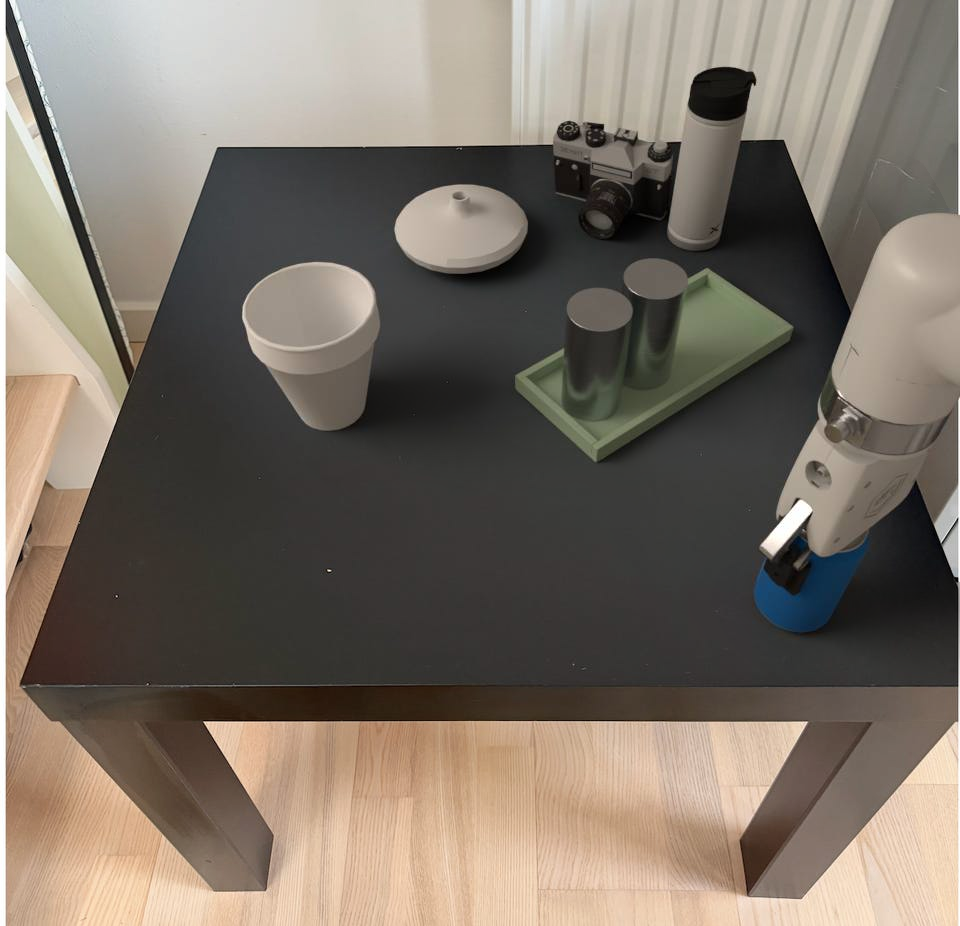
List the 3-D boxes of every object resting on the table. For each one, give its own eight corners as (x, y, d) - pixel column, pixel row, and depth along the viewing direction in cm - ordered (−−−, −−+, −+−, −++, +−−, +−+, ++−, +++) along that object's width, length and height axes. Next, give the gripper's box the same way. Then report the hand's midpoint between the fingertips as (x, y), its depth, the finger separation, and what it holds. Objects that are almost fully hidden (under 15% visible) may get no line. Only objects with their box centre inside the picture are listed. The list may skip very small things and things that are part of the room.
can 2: (682, 372, 94) (701, 281, 85) (640, 398, 92) (654, 307, 82) (642, 341, 97) (656, 250, 88) (600, 366, 95) (610, 274, 86)
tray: (789, 340, 97) (794, 326, 96) (596, 463, 87) (597, 449, 86) (704, 281, 104) (707, 267, 102) (514, 389, 94) (514, 375, 92)
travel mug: (726, 252, 107) (762, 90, 92) (669, 252, 107) (696, 91, 92) (718, 220, 111) (751, 60, 96) (664, 220, 111) (688, 61, 96)
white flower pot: (300, 470, 88) (272, 369, 77) (253, 392, 94) (221, 289, 84) (413, 420, 91) (400, 317, 81) (359, 348, 98) (341, 245, 88)
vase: (373, 236, 111) (366, 186, 105) (480, 193, 116) (479, 142, 111) (441, 306, 102) (437, 255, 97) (554, 255, 107) (556, 204, 102)
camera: (533, 229, 113) (528, 167, 104) (566, 170, 117) (564, 106, 109) (645, 259, 109) (649, 197, 100) (675, 197, 113) (682, 132, 104)
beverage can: (765, 559, 80) (799, 474, 70) (839, 588, 78) (884, 505, 68) (741, 617, 76) (774, 535, 67) (818, 649, 74) (863, 569, 65)
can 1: (632, 403, 91) (646, 312, 82) (587, 430, 89) (596, 340, 80) (593, 370, 94) (602, 279, 85) (548, 396, 92) (553, 305, 83)
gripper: (842, 505, 53) (773, 652, 66) (1017, 374, 59) (920, 533, 73) (745, 429, 56) (699, 582, 70) (918, 314, 63) (845, 475, 77)
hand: (812, 556), depth 71 cm, fingers closed on beverage can, 6 cm apart
